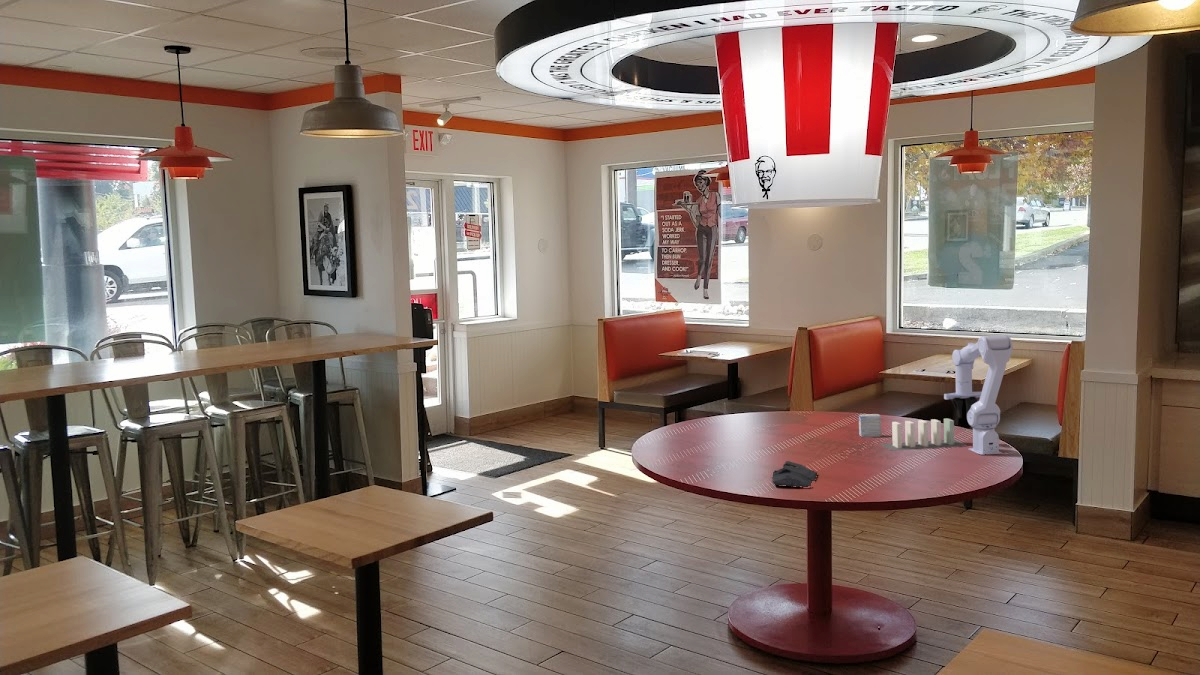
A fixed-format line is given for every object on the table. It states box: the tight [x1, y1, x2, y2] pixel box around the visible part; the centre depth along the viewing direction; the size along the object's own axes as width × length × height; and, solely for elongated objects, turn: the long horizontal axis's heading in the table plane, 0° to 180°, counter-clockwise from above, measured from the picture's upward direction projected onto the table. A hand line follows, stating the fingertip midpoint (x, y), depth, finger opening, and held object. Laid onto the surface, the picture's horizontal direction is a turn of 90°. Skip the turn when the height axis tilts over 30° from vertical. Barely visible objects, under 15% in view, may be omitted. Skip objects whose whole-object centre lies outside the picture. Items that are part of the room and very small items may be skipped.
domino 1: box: [891, 421, 903, 448], centre depth 347 cm, size 2×5×9 cm, turn 4°
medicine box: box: [858, 413, 882, 438], centre depth 370 cm, size 8×4×9 cm, turn 84°
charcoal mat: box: [879, 439, 969, 452], centre depth 348 cm, size 12×29×1 cm, turn 94°
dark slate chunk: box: [771, 460, 818, 487], centre depth 306 cm, size 15×22×5 cm
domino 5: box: [943, 418, 955, 445], centre depth 348 cm, size 2×5×9 cm, turn 4°
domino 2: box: [904, 420, 916, 447], centre depth 347 cm, size 2×5×9 cm, turn 4°
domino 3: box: [917, 419, 929, 446], centre depth 348 cm, size 2×5×9 cm, turn 3°
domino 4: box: [930, 418, 942, 446], centre depth 348 cm, size 2×5×9 cm, turn 4°
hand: (964, 417), depth 348 cm, fingers open, 3 cm apart
